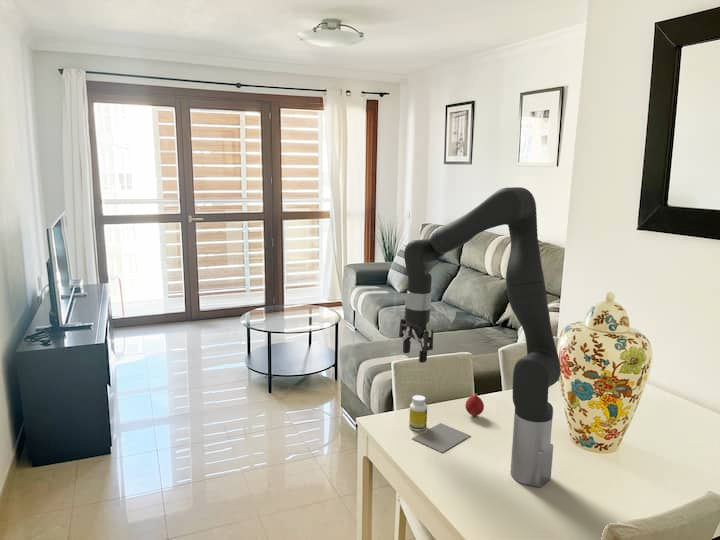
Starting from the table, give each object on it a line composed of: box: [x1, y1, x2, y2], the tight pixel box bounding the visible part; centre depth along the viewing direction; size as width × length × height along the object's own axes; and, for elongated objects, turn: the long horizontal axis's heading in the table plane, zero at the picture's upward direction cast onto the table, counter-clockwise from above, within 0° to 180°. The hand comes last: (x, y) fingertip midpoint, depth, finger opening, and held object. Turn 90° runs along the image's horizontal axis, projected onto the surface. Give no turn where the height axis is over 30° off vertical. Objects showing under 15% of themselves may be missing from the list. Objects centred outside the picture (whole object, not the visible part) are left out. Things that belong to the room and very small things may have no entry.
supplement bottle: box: [408, 394, 428, 432], centre depth 161 cm, size 5×5×10 cm
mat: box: [411, 422, 471, 454], centre depth 156 cm, size 11×14×1 cm
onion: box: [465, 393, 485, 418], centre depth 169 cm, size 6×6×8 cm
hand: (414, 357), depth 159 cm, fingers open, 8 cm apart
